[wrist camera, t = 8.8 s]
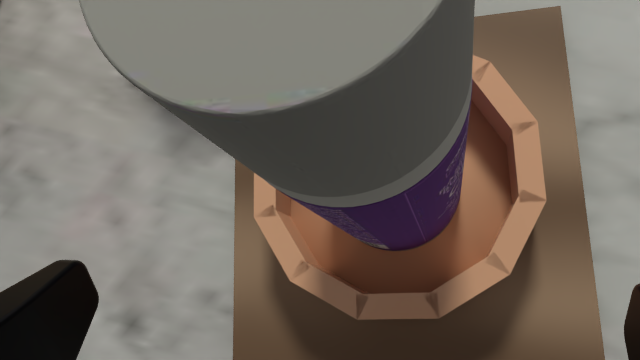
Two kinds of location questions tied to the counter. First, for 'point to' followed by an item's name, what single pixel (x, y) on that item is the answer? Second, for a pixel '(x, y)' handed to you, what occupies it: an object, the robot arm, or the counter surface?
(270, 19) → the container
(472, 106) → the terracotta dish
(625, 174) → the counter surface
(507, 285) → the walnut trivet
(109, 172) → the counter surface
